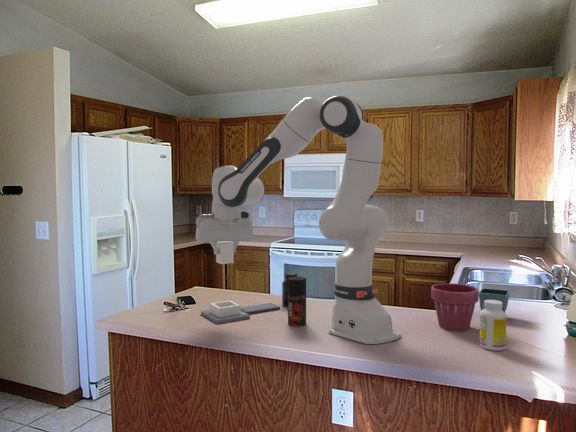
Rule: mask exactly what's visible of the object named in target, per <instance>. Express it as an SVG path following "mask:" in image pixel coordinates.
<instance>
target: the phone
mask: <svg viewBox="0 0 576 432" xmlns="http://www.w3.org/2000/svg"><path fill="white" fill-rule="evenodd" d="M240 310H241V311H243V312H245V313H247V314H249V315H254V313H255V314H259V313H266V312H273V311H278V310H281V306H279V305H276V304H274V303H272V302H268V303H262V304H256V305H255V304H254V305H249V306H243V307H240Z"/></svg>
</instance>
